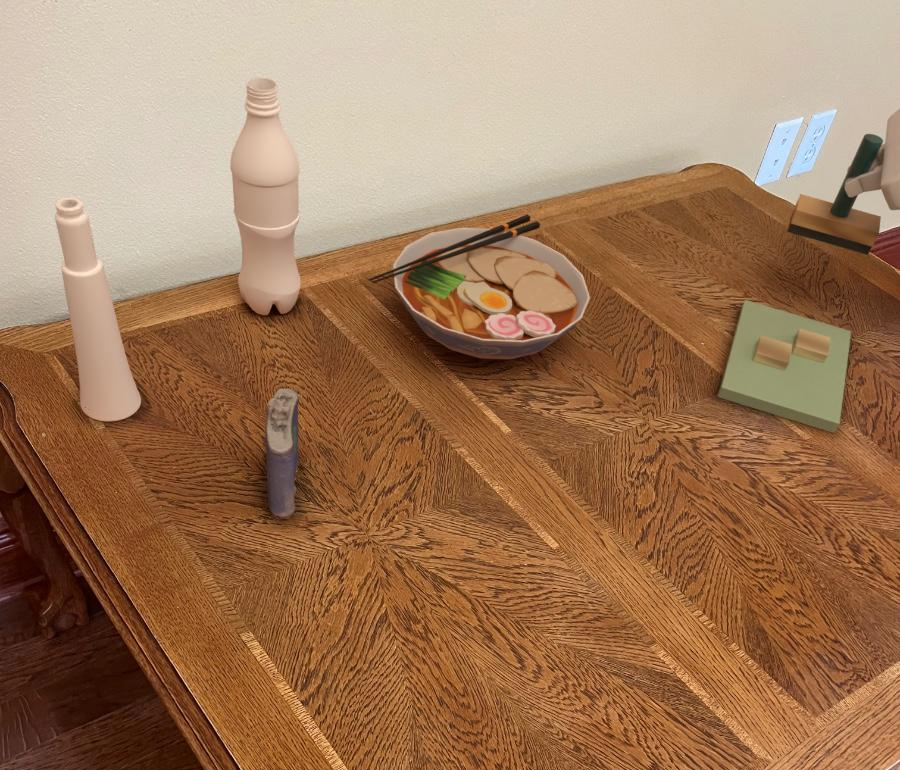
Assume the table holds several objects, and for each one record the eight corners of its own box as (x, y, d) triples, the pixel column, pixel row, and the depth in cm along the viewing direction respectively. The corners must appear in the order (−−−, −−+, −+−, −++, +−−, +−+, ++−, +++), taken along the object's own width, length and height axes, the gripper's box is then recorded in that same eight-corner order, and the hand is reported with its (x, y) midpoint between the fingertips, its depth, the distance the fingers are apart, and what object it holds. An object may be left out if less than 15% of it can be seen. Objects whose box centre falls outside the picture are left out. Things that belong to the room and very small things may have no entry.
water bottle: (310, 296, 114) (310, 79, 94) (284, 328, 109) (279, 107, 90) (256, 279, 115) (245, 61, 95) (228, 310, 110) (211, 88, 91)
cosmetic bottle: (153, 402, 99) (120, 204, 82) (108, 430, 95) (64, 230, 78) (113, 377, 101) (73, 177, 84) (68, 403, 97) (15, 201, 80)
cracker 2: (795, 336, 118) (799, 328, 117) (826, 345, 117) (830, 337, 116) (791, 353, 115) (795, 345, 114) (823, 363, 115) (828, 355, 114)
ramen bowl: (462, 425, 102) (472, 363, 96) (342, 315, 112) (344, 253, 106) (620, 354, 114) (639, 295, 107) (499, 260, 124) (509, 201, 117)
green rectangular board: (740, 309, 123) (744, 299, 122) (846, 340, 121) (851, 330, 120) (717, 397, 111) (721, 387, 110) (834, 433, 109) (839, 423, 108)
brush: (869, 239, 117) (918, 142, 107) (867, 256, 114) (917, 158, 105) (790, 216, 118) (831, 119, 109) (786, 232, 115) (828, 134, 106)
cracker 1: (756, 343, 116) (760, 334, 115) (788, 352, 115) (792, 344, 115) (752, 361, 113) (756, 352, 113) (785, 370, 113) (789, 362, 112)
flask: (294, 521, 91) (292, 437, 82) (263, 520, 90) (258, 435, 82) (300, 456, 96) (299, 371, 88) (271, 454, 96) (267, 369, 88)
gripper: (987, 187, 97) (851, 247, 106) (983, 112, 110) (862, 170, 119) (968, 132, 94) (829, 198, 103) (966, 61, 107) (843, 125, 116)
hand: (847, 183), depth 111 cm, fingers closed on brush, 2 cm apart
